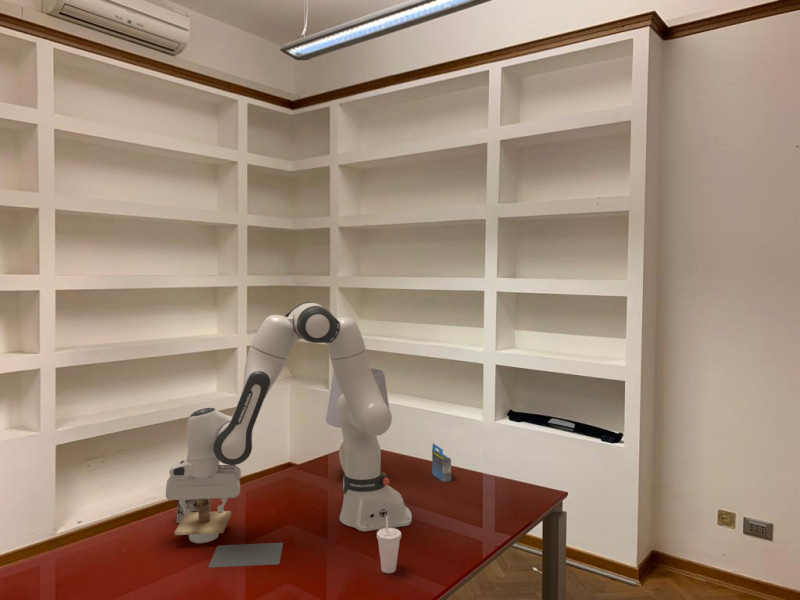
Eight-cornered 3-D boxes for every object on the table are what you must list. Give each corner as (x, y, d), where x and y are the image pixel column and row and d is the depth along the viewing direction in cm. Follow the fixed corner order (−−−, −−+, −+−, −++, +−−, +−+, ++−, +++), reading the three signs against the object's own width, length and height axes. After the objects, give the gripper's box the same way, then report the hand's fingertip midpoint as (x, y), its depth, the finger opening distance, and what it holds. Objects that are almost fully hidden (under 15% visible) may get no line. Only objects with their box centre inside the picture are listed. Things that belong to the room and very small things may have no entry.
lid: (231, 513, 174) (231, 497, 174) (223, 533, 161) (223, 516, 161) (186, 515, 173) (186, 499, 173) (174, 535, 160) (174, 517, 160)
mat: (283, 544, 164) (283, 542, 164) (279, 565, 152) (279, 564, 152) (217, 546, 162) (217, 545, 162) (208, 568, 150) (208, 567, 150)
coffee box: (195, 525, 176) (195, 472, 175) (176, 523, 177) (175, 471, 176) (211, 512, 185) (210, 462, 184) (192, 511, 186) (192, 461, 185)
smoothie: (375, 563, 154) (376, 511, 153) (400, 562, 154) (400, 511, 153) (376, 576, 147) (377, 522, 147) (402, 575, 148) (402, 521, 147)
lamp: (326, 468, 227) (326, 366, 225) (387, 466, 229) (388, 365, 227) (325, 491, 203) (325, 377, 201) (393, 489, 206) (394, 377, 204)
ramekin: (181, 538, 167) (181, 524, 167) (209, 528, 174) (209, 514, 174) (198, 548, 161) (198, 533, 161) (226, 537, 168) (226, 523, 168)
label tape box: (451, 481, 214) (452, 448, 214) (441, 482, 213) (442, 449, 212) (440, 473, 223) (441, 441, 222) (431, 474, 221) (431, 442, 220)
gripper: (242, 460, 171) (242, 507, 171) (169, 462, 168) (170, 509, 169) (238, 468, 164) (239, 516, 165) (163, 470, 162) (164, 518, 163)
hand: (203, 512), depth 167 cm, fingers open, 8 cm apart
